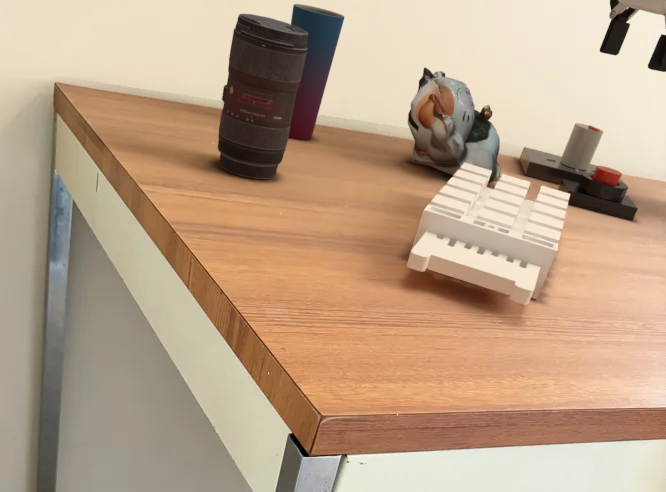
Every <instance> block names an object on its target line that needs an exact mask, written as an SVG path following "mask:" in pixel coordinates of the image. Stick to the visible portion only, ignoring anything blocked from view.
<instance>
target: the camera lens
mask: <svg viewBox="0 0 666 492" xmlns="http://www.w3.org/2000/svg"><path fill="white" fill-rule="evenodd" d="M234 27H235V28H233V33H232V39H231V43H230V51H229V57H228V68H227V70H228V71H227V72H228V74H227V81H226V84H224V85H223V88H222V89H223V90H222V96H221V101H222V102H223V106H222V110H221V114H220V119H219V126H218V143H217V150H218V151H219V153H220V155H219V163H218V164H219V166H220V168H222V170H225V171H226V172H229V173H231V174H234V175H237V176H240V177H244V178H250V179H255V180H268V179H269V180H271V179H274V178H275V177H276V175H277V171H278V167H279V165H280V164H281V163H282V162H283V159H284V155H285V151H286V149H287V145H288V141H289V138H290V137H289V132H290V124H291V119H292V114H293V109H294V103H295V98H296V93H297V90H298V87H299V85H300V81H301V78H302V73H303V68H304V63H305V58H306V54H307V49H308V48H307V40H308V32H306V31H305V30H303V29H301V28H299V27H296V26H293V25H291V23H288V22H285V21H281V20H278V19H275V18H271V17H267V16H264V15H263V16H262V15H257V14H252V13H239V14H238V16H237V21H236V24H235V26H234Z"/></svg>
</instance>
